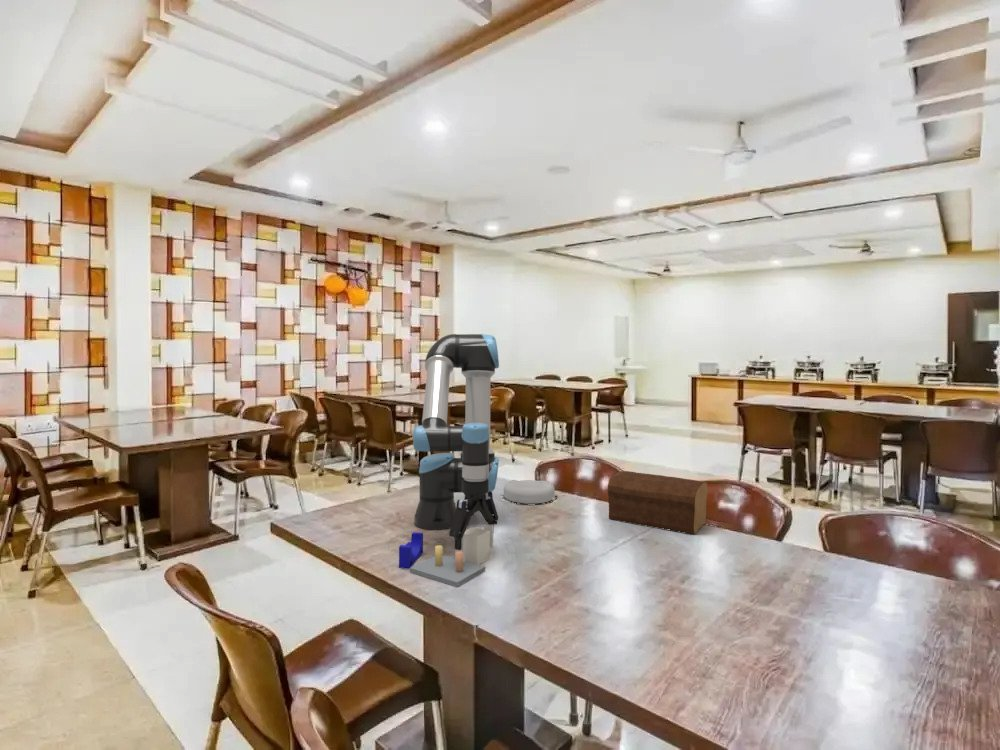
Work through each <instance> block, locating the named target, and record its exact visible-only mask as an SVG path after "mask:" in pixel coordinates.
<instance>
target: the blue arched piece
mask: <svg viewBox="0 0 1000 750" xmlns="http://www.w3.org/2000/svg"><path fill="white" fill-rule="evenodd" d="M410 538H411V539H410V541H408V542H407V543H406V544H400V545H399V546H398V568H399V569H409V570H410V568H411V567H413V566H414V564H415V563H416V562H417V561H418V559H419V558H420V557H421V556H422V555H423V553H424V533H423V532H416V531H415V532H414V531H413V532H412V533H411V537H410Z"/></svg>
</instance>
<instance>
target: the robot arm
mask: <svg viewBox="0 0 1000 750" xmlns="http://www.w3.org/2000/svg"><path fill="white" fill-rule="evenodd" d="M499 361H500V360H499V349H498V343H497V340H496V337H495V336H494V335H492V334H483V333H479V334H477V333H476V334H475V333H474V334H473V333H471V334H469V333H467V334H462V333H461V334H459V333H458V334H456V333H452V334H447V335H444V336H442V337H441V338H439V339H438V340H436V342H434V343H433V344H432V346H431V347H430V348H429V350H428V351H427V354H426V356H425V361H424V369H425V371H426V382H425V388H424V389H425V390H424V391H425V392H424V400H423V409H422V418H421V424H420V425H416V426H415V427H414V428H413V434H412V437H413V438H412V441H413V442H412V444H413V448H414V450H415V451H417V452H426V453H430V452H438V453H434V454H429V455H426V456H424V457H423V458H422V459H420V461H419V470H418V473H419V501H418V503H417V508H416V511H415V514H414V517H413V518H414V520H413V523H414V525H415V526H416V527H417V528H420V529H424V530H434V531H435V530H445V529H449V532H448V534H449V535H448V536H449V537H452V538H454V549H455V551H454V553H455V555H454V558H455V560H456V551H463V562H464V561H465V537H463V535H464V533H465V531H466V530H467V529H468V527H469V526H468V525H469V524H470V522H471V518H472V517H474V516H475V514H476V513H478V512H479V513H480V514H481V516H482V518H483V519H484V520H485V522H486V523H485V522H484V525H483V526H484V527H483V530H488V531H490V549H491V548H493V547H494V533H495V532H494V530H495V529H494V528H495V527H494V525H497V524H498V520H499V514H498V512H497V507H496V505H495V502H494V499H493V498H494V497H493V491H494V490H495V489H496V486H497V480H498V479H497V478H498V471H499V462H500V459H499V458H498V457H495V455H496V454H495V451H494V450H493V449H492V448H491V378H492V377H493V376H494V375H495V373H496V369H498V368H500V362H499ZM454 368H456V369H459V368H460V370H461V374H462V375H463V376H464V377H465V411H464V412H465V418H464V419H465V420H464V421H465V422H464V424H463V425H448V410H449V409H448V408H449V394H450V393H449V392H450V380H451V379H450V378H451V377H450V376H451V373H452V372H453V370H454ZM439 452H440V453H439ZM453 452H460V457H455V454H454V453H453ZM456 493H462V494H463V495H464V499H463V500H461V499H457V501H456V503H455V494H456Z"/></svg>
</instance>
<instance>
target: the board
mask: <svg viewBox="0 0 1000 750" xmlns="http://www.w3.org/2000/svg"><path fill="white" fill-rule="evenodd" d="M443 549H444V548H443V545H441V544H440V545H439V544H438V545H435V546H434V551H435V553H434V556H432V557H429V558H428V559H425V560H424V561H421V562H419V563H417V564H415V565H412V566H411V568H410V569H409V572H410V573H411V574H414V575H418V576H420V577H424V578H427V579H430V580H434V581H437V582H440V583H443V584H447V585H450V586H454V587H456V588H458V587H460V586H462V585H463V584H465V583H467V582H469V581H470V580H472V579H474V578H475V577H477V576H479V575H481V574H483V573H484V572H485V571H486V567H485V565H484V566H483V565H481V564H479V565H477V564H473V563H469V562H466V561H464V562H463V551H456V560H455V557H450V556H448V555H443V551H444V550H443Z"/></svg>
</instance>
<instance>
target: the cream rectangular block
mask: <svg viewBox="0 0 1000 750" xmlns="http://www.w3.org/2000/svg"><path fill="white" fill-rule="evenodd" d="M463 537H465V561H466V562H469V563H473V564H477V565H481V564H483V563H484V562H486V561H488V560H490V559H491V558H490V557H491V556H490V555H491V554H490V553H491V552H490V551H491V547H490V531H488V530H484V528H479V527H476V526H475V527H474V526H472V527H469V528H466V531H465V533H464V535H463Z"/></svg>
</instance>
